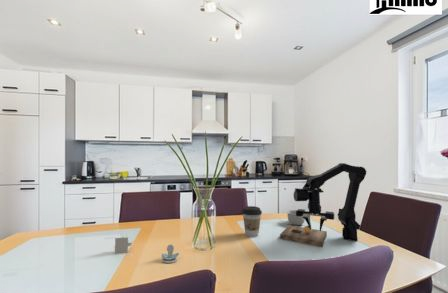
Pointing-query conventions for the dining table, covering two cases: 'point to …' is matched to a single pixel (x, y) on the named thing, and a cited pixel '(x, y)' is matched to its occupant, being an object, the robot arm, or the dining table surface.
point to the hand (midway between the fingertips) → (315, 230)
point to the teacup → (295, 218)
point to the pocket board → (304, 236)
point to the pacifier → (170, 255)
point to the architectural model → (121, 245)
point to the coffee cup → (251, 220)
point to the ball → (307, 229)
